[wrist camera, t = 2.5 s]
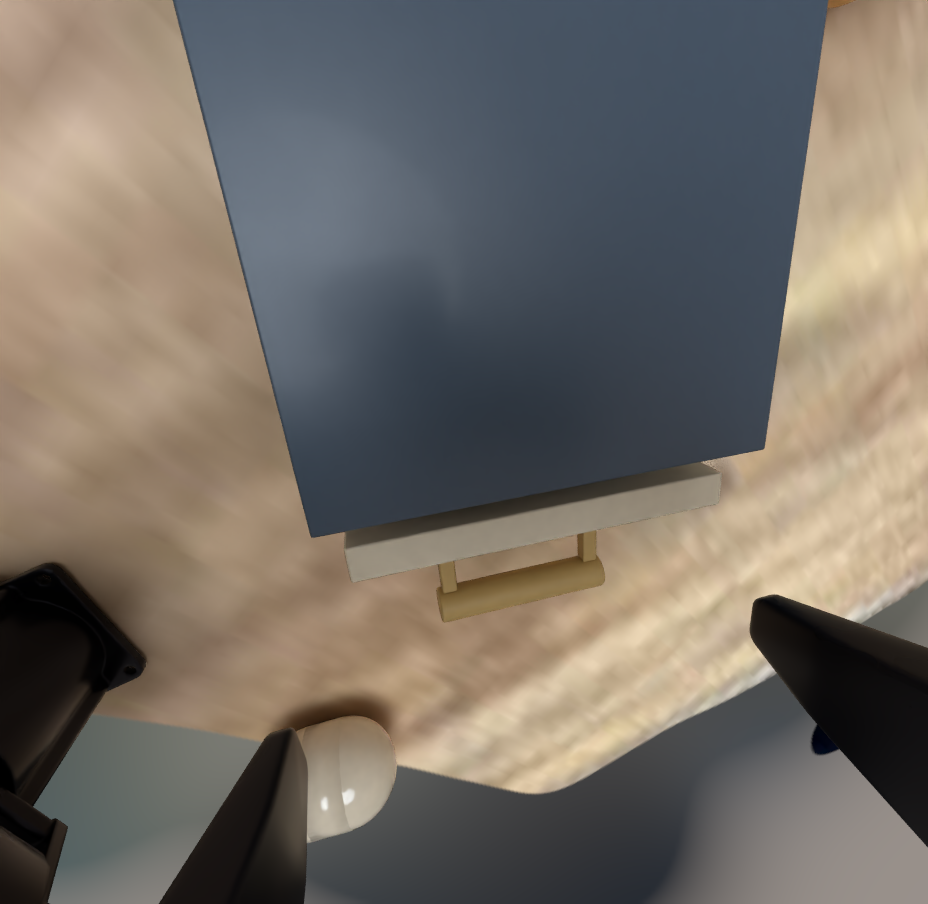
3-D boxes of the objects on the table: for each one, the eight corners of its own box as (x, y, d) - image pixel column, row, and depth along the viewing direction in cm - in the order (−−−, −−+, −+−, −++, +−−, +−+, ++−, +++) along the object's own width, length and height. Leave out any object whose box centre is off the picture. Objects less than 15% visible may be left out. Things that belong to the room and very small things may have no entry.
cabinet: (617, 392, 22) (765, 450, 14) (330, 439, 19) (310, 539, 12) (624, -29, 16) (878, -335, 8) (226, -33, 14) (53, -458, 6)
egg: (385, 684, 24) (391, 770, 20) (399, 746, 26) (407, 837, 22) (258, 716, 23) (235, 815, 19) (281, 779, 25) (265, 882, 21)
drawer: (613, 531, 23) (706, 619, 17) (373, 584, 21) (379, 705, 15) (621, 72, 16) (782, -63, 10) (268, 83, 14) (199, -77, 8)
